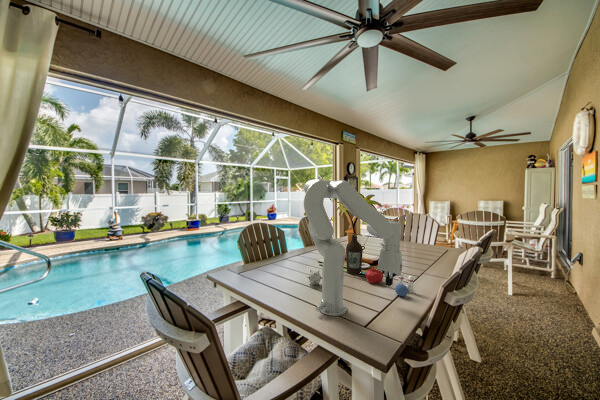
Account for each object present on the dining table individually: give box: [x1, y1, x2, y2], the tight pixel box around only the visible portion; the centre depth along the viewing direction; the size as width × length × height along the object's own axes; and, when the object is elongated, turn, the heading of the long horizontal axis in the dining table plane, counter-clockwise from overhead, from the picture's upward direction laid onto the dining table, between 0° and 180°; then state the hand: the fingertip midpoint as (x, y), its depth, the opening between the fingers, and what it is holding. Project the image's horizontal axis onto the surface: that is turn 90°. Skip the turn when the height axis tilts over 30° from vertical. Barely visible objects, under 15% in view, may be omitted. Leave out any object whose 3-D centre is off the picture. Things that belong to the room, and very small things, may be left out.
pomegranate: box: [365, 265, 384, 284], centre depth 140 cm, size 10×10×9 cm
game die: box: [307, 269, 322, 286], centre depth 136 cm, size 9×8×10 cm
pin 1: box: [398, 272, 405, 285], centre depth 129 cm, size 2×2×8 cm
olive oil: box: [345, 233, 363, 276], centre depth 155 cm, size 11×11×25 cm
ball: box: [394, 283, 409, 297], centre depth 122 cm, size 6×6×6 cm
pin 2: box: [407, 275, 414, 294], centre depth 126 cm, size 2×2×8 cm
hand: (388, 285), depth 114 cm, fingers closed
